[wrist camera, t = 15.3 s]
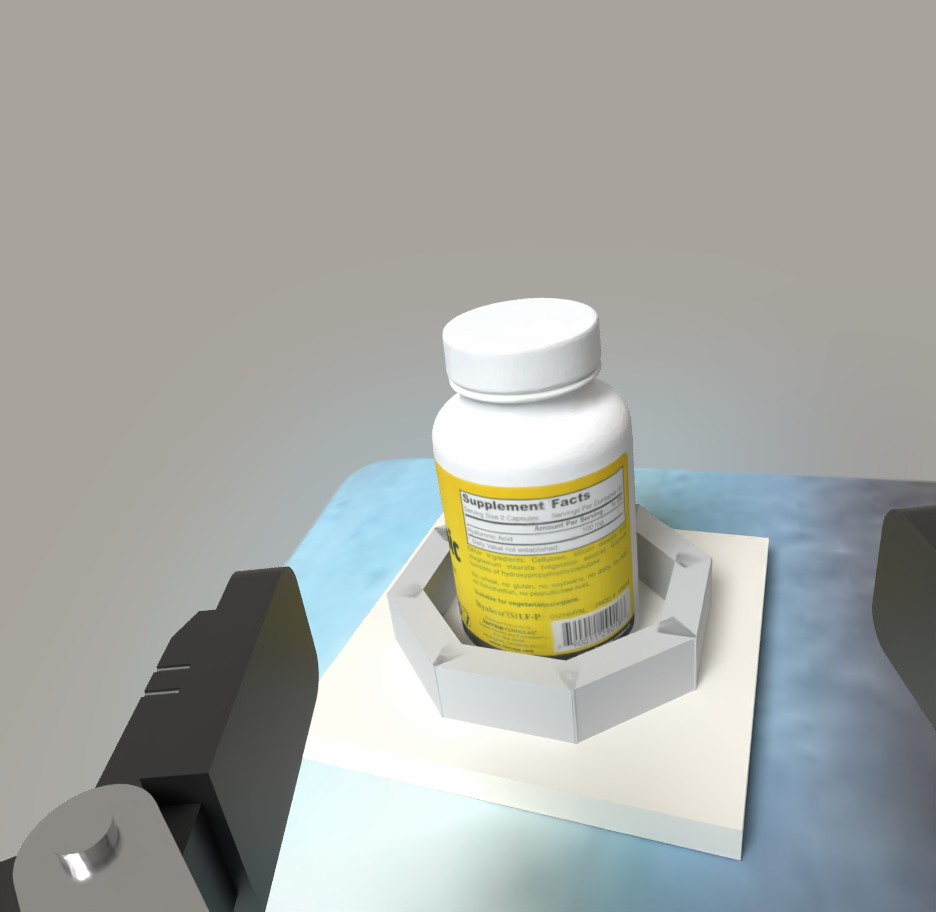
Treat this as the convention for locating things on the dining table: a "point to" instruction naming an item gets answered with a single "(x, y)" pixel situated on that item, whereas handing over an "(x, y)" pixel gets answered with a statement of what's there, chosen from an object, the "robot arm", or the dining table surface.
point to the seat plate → (566, 697)
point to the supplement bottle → (537, 481)
